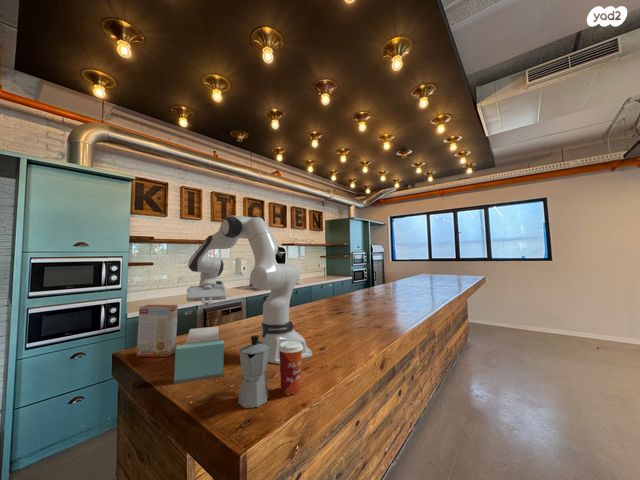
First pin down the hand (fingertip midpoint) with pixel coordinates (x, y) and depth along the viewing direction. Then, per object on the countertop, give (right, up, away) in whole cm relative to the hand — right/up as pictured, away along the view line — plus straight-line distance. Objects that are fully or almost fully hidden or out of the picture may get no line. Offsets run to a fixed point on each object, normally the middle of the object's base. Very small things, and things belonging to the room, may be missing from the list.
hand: (206, 306), depth 134 cm
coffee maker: (+42, -11, -61) cm, 75 cm away
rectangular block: (+13, -14, -32) cm, 37 cm away
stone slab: (+11, -9, -27) cm, 30 cm away
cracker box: (-10, -14, -26) cm, 31 cm away
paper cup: (+52, -11, -57) cm, 78 cm away
